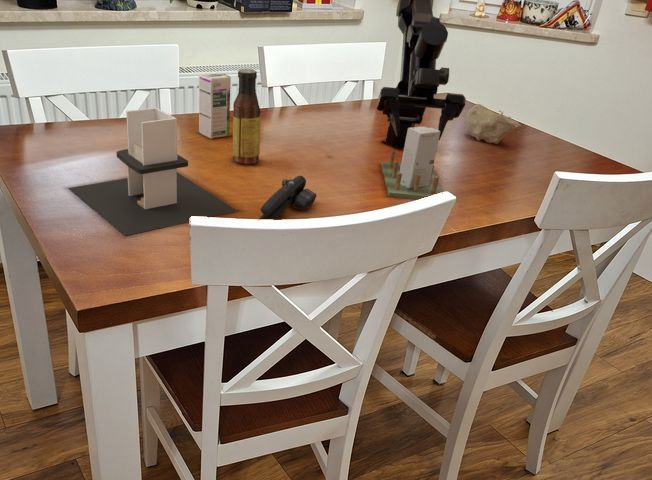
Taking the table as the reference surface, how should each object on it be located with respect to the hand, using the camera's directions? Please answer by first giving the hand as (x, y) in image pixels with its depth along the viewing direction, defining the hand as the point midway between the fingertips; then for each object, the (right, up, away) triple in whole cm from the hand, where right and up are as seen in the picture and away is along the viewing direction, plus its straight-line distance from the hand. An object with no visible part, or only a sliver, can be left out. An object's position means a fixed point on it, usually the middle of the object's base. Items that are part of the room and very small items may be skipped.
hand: (418, 137), depth 144 cm
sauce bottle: (-39, -3, +8) cm, 40 cm away
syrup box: (-48, +8, +23) cm, 53 cm away
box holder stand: (-56, -17, -15) cm, 61 cm away
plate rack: (-1, -9, +4) cm, 10 cm away
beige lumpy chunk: (+29, +11, +37) cm, 48 cm away
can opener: (-30, -20, -15) cm, 39 cm away
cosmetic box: (-1, -10, +1) cm, 10 cm away
